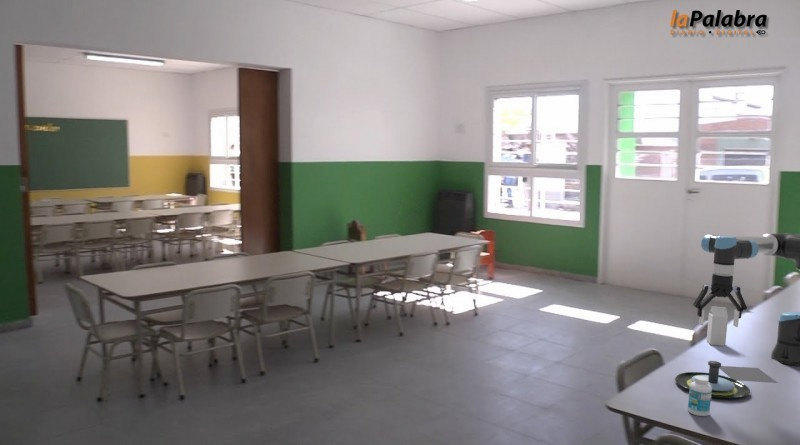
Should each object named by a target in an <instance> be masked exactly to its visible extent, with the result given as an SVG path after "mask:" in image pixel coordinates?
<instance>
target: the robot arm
mask: <svg viewBox="0 0 800 445" xmlns="http://www.w3.org/2000/svg"><path fill="white" fill-rule="evenodd" d="M700 247H701V249H702V250H703V251H704V252H707V253H710V254H711V253H712V254H714V255H713V263H712V274H711V285H708V284H703V286H702V290H701V291H700V293H699V294H698V296H697V297H696V299H695V301H694V302H693V304H692V306H693V307H694V308H696V309H697V314H696V315H697V317H698V318H699V319H698V324H699V325H700V326H704V322H705V321H704V319H705V309H704V308H705V307H706V306H708V305H707V304H709V303H710V302H711V301H712V300H713V299H715V298H716V297H717V298H728V299H729V302H731V303H732V304H733V306H734V307H735V308H736V309H734V313H733V325H732V326H733V327H736V328H738V327H739V319H741V318H742V313H743V312H744V311H745V310H747V309H748V307H747V304H746V302H745V300H744V298H743V295H742V292H741V287H740V286H738V285H735V286H733V281H734V276H733V275H734V270H735V260H740V259H741V260H742V259H747V260H748V259H752V258H755V257H756V256H758V254H762V255H764V256H772V257H778V258H781V259H785V260H788V261H789V260H790V261H794V265H795V266H794V267H795V269H796V270H797V271H800V234H799V233H792V232H785V233H784V232H782V233H780V232H779V233H765V234H762V235H760V236H759V235H715V234H706V235H704V236H703V237H702V239H701V242H700ZM708 291H710V292H709V294H708V295H707V293H708ZM732 292H734V293H735V296H736V298H737V299H738V300H736V299H735V298H734V296H733V295H732ZM706 295H707V296H706ZM705 296H706V297H705ZM737 301H738V302H737ZM778 318H779V319H778V329H777V337H776V338H777V339H776V344H775V346H774V347H773V349H772V351H771V356H770V358H771V359H772V360H775V361H776V362H778V363H780V364H784V365H787V366H788V365H789V366H796V367H797V366H798V367H800V312H799V311H797V312H796V311H786V312H785V311H784V312H782V313H780V314H779V317H778Z"/></svg>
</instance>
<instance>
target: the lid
mask: <svg viewBox="0 0 800 445" xmlns="http://www.w3.org/2000/svg"><path fill="white" fill-rule="evenodd" d="M707 363H708V364H707V365H708V366H709V367H708V373H709V375H696V376H703V377H706V378H708V379H709V381H708V384H709V385H710V386H711V387H712V391H724V392H730V391H731V390H734V388H735V385H734V384H733V383H732V382H731V381H729V380H726V379H724V378H720V377H718V376H719V375H720V368H719V367H721V366H722V363H721V362H719V361H716V360H709V361H707ZM694 379H695V376H693V377H692V382H695V380H694Z"/></svg>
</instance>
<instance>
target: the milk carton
mask: <svg viewBox="0 0 800 445" xmlns="http://www.w3.org/2000/svg"><path fill="white" fill-rule="evenodd" d="M710 307H711V308H710V310H709V312H708V320H707V331H706V332H707V333H706V342H707V343H708V344H709V345H710V346H722V347H725V346H726V343H727V331H728V320H729V316H728V311H727V307H724V306H723V307H722V306H721V307H720V306H710Z"/></svg>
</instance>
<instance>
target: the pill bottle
mask: <svg viewBox="0 0 800 445" xmlns="http://www.w3.org/2000/svg"><path fill="white" fill-rule="evenodd" d="M694 380H695V382H692V383H691V384H690V390H688V391H689V393H688V403H687V411H688V412H689V413H690V414H692V415H694V416H698V417H708V416H709V415H710V413H711V402H712V400H711V399H712V397H711V393H712V391H713V390H712V387H711V386H710V385H709V384H708V381H709V379H708V378H706V377H703V376H695V379H694Z"/></svg>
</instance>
